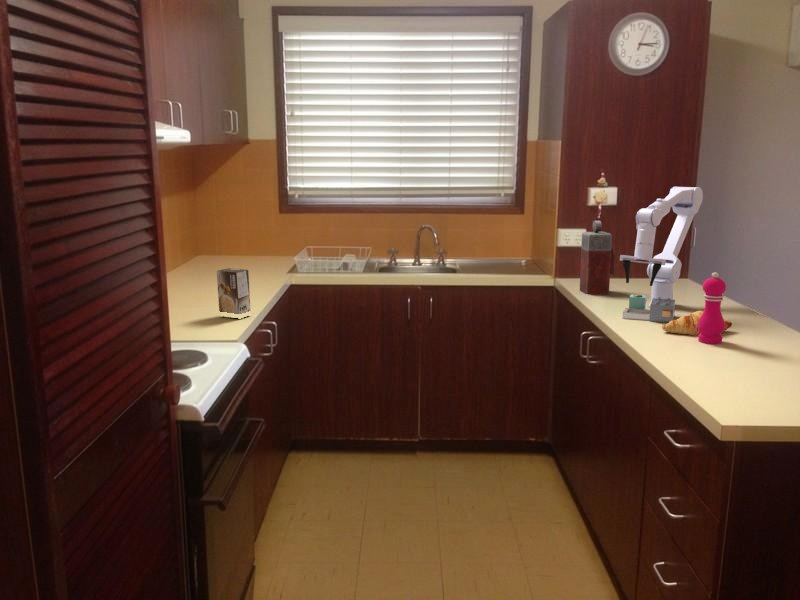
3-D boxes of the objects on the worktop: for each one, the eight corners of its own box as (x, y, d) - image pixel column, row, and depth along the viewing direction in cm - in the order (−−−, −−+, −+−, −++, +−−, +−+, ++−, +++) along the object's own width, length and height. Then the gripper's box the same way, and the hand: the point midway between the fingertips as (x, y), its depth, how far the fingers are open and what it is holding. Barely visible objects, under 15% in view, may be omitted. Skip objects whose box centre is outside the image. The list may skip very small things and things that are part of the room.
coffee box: (252, 316, 241) (249, 269, 237) (239, 320, 235) (237, 272, 232) (231, 313, 245) (228, 267, 242) (218, 317, 239) (215, 270, 236)
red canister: (615, 294, 274) (618, 221, 268) (586, 294, 273) (589, 221, 267) (606, 289, 282) (610, 219, 277) (579, 290, 282) (582, 219, 276)
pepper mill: (700, 337, 207) (705, 269, 203) (726, 340, 203) (732, 271, 199) (692, 342, 202) (698, 272, 198) (719, 346, 197) (725, 275, 193)
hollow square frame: (625, 312, 241) (626, 294, 240) (674, 315, 235) (675, 297, 234) (621, 319, 230) (622, 301, 229) (672, 323, 224) (673, 304, 223)
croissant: (665, 346, 211) (672, 326, 206) (653, 324, 218) (659, 304, 213) (734, 343, 212) (742, 323, 207) (720, 321, 220) (727, 301, 215)
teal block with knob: (630, 310, 245) (631, 293, 244) (645, 311, 243) (646, 294, 242) (628, 312, 240) (629, 296, 239) (644, 314, 239) (645, 297, 237)
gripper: (621, 241, 236) (615, 281, 238) (667, 246, 231) (661, 287, 232) (623, 242, 243) (617, 281, 244) (667, 246, 237) (662, 286, 239)
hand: (639, 284), depth 239 cm, fingers open, 7 cm apart
